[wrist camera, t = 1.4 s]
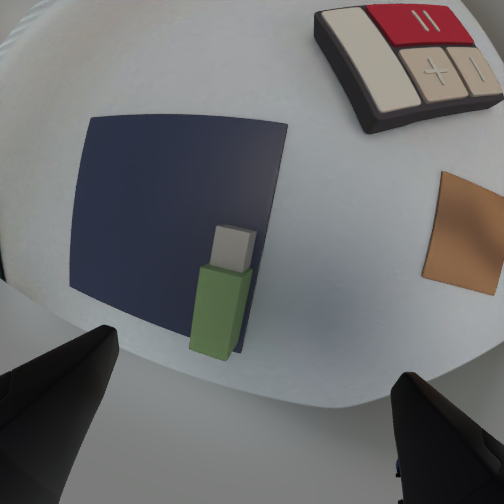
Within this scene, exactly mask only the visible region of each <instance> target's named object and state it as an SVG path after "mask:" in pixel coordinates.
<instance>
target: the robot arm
mask: <svg viewBox="0 0 504 504" xmlns="http://www.w3.org/2000/svg"><path fill="white" fill-rule="evenodd" d="M118 354H119V343H118V335H117V330H116V329H115V328H114V327H111V326H107V325H101V326H99V327H97V328H95V329H93V330H91V331H89V332H87V333H85V334H83V335H81V336H79V337H77V338H75V339H73V340H71V341H69V342H67V343H65V344H63V345H61V346H59V347H57V348H55V349H53V350H51V351H49V352H47V353H45V354H43V355H41V356H39V357H37V358H35V359H33V360H31V361H29V362H27V363H25V364H23V365H21V366H19V367H17V368H15V369H13V370H12V371H9V372H7V373H5V374H3V375H0V504H59V501H60V497H61V495H62V492H63V489H64V487H65V484H66V481H67V478H68V476H69V473H70V471H71V468H72V466H73V463H74V461H75V459H76V456H77V454H78V451H79V449H80V447H81V444H82V442H83V440H84V437H85V435H86V433H87V431H88V429H89V426H90V424H91V422H92V420H93V418H94V415H95V413H96V411H97V409H98V407H99V405H100V403H101V401H102V398H103V396H104V394H105V391H106V388H107V385H108V382H109V379H110V376H111V374H112V371H113V368H114V365H115V363H116V360H117V357H118ZM390 395H391V404H392V415H393V426H394V435H395V440H396V447H397V453H398V459H399V466H400V470H399V471H398V472H397V473H396V474H395V476H396V477H399V478H400V477H401V482H402V490H403V500H402V499H401V500H399V501H398V504H504V445H503V444H502V443H500V442H499V441H497V440H496V439H495V438H494V437H493V436H491V435H490V434H489V433H488V432H486V431H485V430H484V429H483V428H481V427H480V426H479V425H478V424H477V423H476V422H474V421H473V420H472V419H471V418H470V417H468V416H467V415H466V414H465V413H464V412H462V411H461V410H460V409H459V408H457V407H456V406H455V405H454V404H452V403H451V402H450V401H449V400H448V399H447V398H445V397H444V396H443V395H442V394H440V393H439V392H438V391H437V390H436V389H434V388H433V387H432V386H431V385H429V384H428V383H427V382H426V381H425V380H423V379H422V378H421V377H420V376H419V375H417V374H416V373H414V372H404V373H403V374H402V375H401V376H400V377H399V379H398V380H397V382H396V383H395V384H394V386H393V387H392V389H391V394H390Z"/></svg>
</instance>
